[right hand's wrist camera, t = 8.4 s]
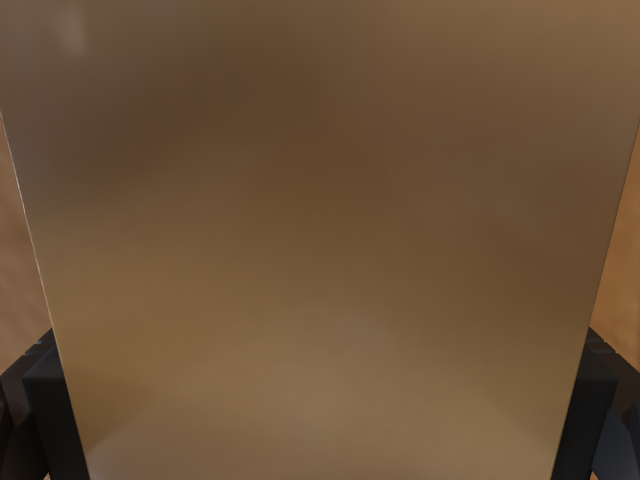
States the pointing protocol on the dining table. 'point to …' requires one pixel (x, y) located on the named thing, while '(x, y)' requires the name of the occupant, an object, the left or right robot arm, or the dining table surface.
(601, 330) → the dining table surface
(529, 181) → the wide beam
